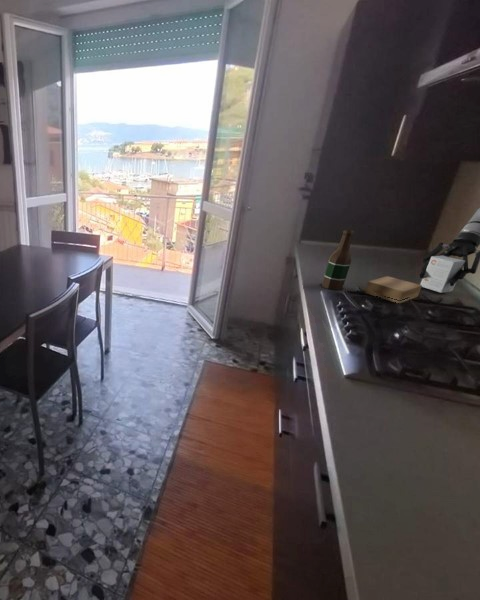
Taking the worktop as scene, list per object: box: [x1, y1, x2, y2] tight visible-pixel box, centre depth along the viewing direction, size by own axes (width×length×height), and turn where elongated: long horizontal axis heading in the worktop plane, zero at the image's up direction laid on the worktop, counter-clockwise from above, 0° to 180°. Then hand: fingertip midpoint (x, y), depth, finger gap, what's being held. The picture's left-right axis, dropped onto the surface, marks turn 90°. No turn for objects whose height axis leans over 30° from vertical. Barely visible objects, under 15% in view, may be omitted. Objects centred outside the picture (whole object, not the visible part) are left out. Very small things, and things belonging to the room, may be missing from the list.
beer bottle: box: [321, 229, 355, 291], centre depth 146 cm, size 8×8×24 cm
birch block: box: [363, 275, 423, 304], centre depth 142 cm, size 12×14×5 cm
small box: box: [419, 255, 465, 294], centre depth 143 cm, size 8×6×13 cm
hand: (435, 280), depth 143 cm, fingers closed on small box, 9 cm apart
